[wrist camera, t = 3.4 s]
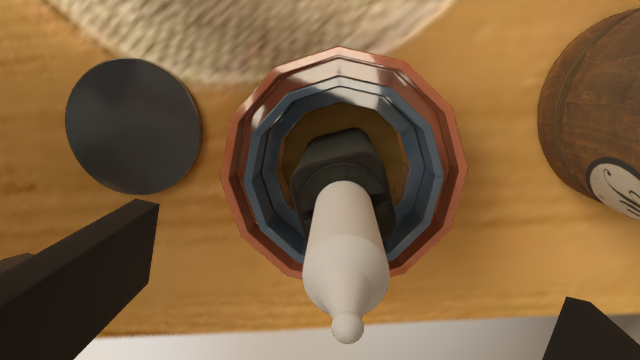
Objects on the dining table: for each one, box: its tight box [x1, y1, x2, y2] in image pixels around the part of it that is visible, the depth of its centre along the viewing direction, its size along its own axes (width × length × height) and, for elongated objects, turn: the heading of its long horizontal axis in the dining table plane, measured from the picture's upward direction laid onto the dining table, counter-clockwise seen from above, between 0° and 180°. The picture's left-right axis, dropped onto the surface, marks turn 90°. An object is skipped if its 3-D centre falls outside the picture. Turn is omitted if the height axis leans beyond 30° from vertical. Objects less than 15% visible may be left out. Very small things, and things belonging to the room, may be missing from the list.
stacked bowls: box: [220, 46, 468, 279], centre depth 32 cm, size 17×17×6 cm
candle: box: [290, 127, 397, 344], centre depth 23 cm, size 5×5×25 cm
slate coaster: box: [65, 58, 202, 195], centre depth 35 cm, size 11×11×1 cm
